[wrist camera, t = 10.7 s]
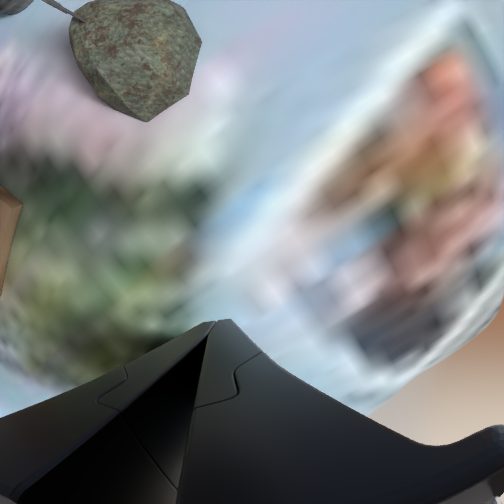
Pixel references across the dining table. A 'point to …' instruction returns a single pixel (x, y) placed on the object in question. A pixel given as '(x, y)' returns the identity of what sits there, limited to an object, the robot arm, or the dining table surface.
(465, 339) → the dining table surface
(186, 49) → the sword in stone
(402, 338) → the dining table surface
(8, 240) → the gauge board
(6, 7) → the beverage cup
